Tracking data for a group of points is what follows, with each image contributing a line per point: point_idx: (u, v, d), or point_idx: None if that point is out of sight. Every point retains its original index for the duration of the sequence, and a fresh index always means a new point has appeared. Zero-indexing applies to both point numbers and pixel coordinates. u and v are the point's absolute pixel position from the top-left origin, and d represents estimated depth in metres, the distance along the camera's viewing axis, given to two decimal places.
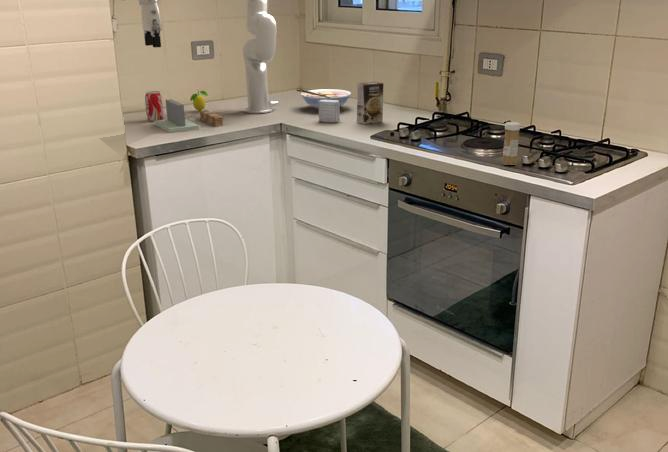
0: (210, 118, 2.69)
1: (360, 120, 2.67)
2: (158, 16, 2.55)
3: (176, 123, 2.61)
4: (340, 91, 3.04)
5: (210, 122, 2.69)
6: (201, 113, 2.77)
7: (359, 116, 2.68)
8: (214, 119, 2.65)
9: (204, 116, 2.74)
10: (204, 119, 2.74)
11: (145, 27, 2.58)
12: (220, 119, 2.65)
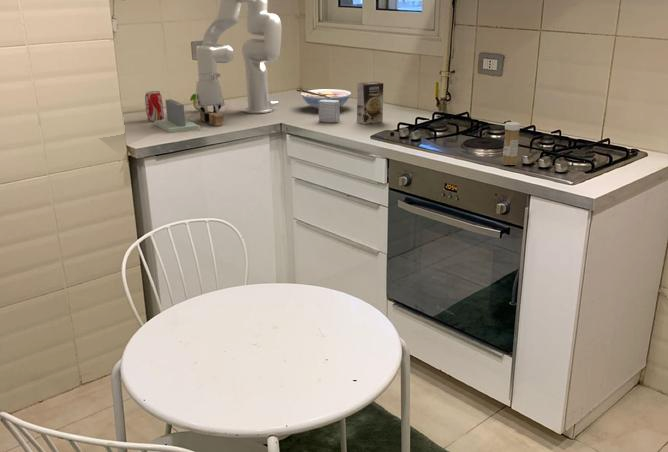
0: (210, 116, 2.69)
1: (360, 120, 2.67)
2: None
3: (176, 123, 2.61)
4: (340, 91, 3.04)
5: (210, 121, 2.69)
6: (201, 113, 2.77)
7: (359, 116, 2.68)
8: (214, 117, 2.65)
9: None
10: None
11: (210, 102, 2.68)
12: (220, 117, 2.65)
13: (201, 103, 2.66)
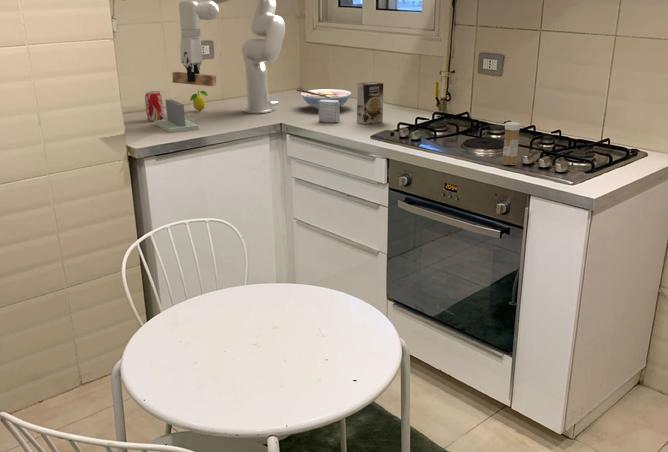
0: (198, 77, 2.61)
1: (360, 120, 2.67)
2: None
3: (176, 123, 2.61)
4: (340, 91, 3.03)
5: (199, 82, 2.61)
6: (176, 75, 2.63)
7: (359, 116, 2.68)
8: (209, 78, 2.59)
9: (184, 77, 2.63)
10: (185, 80, 2.63)
11: (196, 59, 2.59)
12: (215, 77, 2.61)
13: (191, 60, 2.56)
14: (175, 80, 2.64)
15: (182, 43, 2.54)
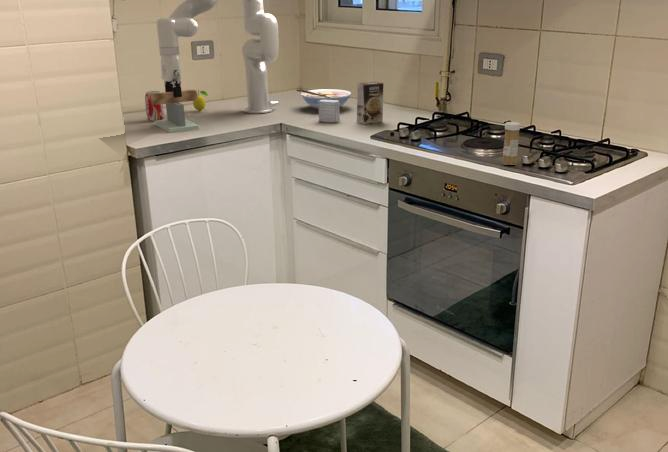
0: (182, 94, 2.61)
1: (360, 120, 2.67)
2: None
3: (176, 123, 2.61)
4: (340, 91, 3.04)
5: (182, 99, 2.62)
6: (157, 96, 2.56)
7: (359, 116, 2.68)
8: (194, 93, 2.64)
9: (166, 97, 2.58)
10: (167, 100, 2.59)
11: None
12: None
13: None
14: (156, 102, 2.57)
15: (171, 61, 2.52)
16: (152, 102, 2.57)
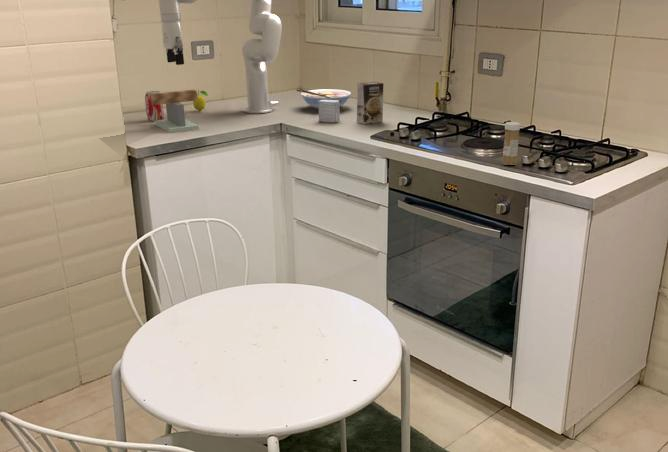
0: (182, 94, 2.61)
1: (360, 120, 2.67)
2: None
3: (176, 123, 2.61)
4: (340, 91, 3.04)
5: (182, 99, 2.62)
6: (157, 96, 2.56)
7: (359, 116, 2.68)
8: (194, 93, 2.64)
9: (166, 97, 2.58)
10: (167, 100, 2.59)
11: None
12: None
13: None
14: (156, 102, 2.57)
15: (172, 28, 2.50)
16: (152, 102, 2.57)
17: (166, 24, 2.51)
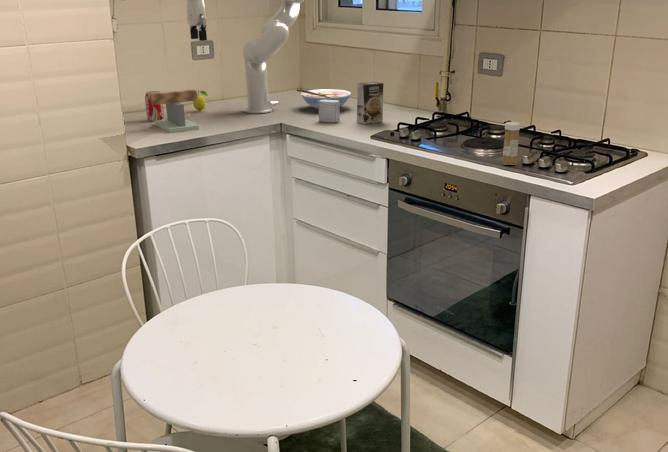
0: (182, 94, 2.61)
1: (360, 120, 2.67)
2: None
3: (176, 123, 2.61)
4: (340, 91, 3.04)
5: (182, 99, 2.62)
6: (157, 96, 2.56)
7: (359, 116, 2.68)
8: (194, 93, 2.64)
9: (166, 97, 2.58)
10: (167, 100, 2.59)
11: None
12: None
13: None
14: (156, 102, 2.57)
15: (197, 5, 2.65)
16: (152, 102, 2.57)
17: (191, 2, 2.67)
